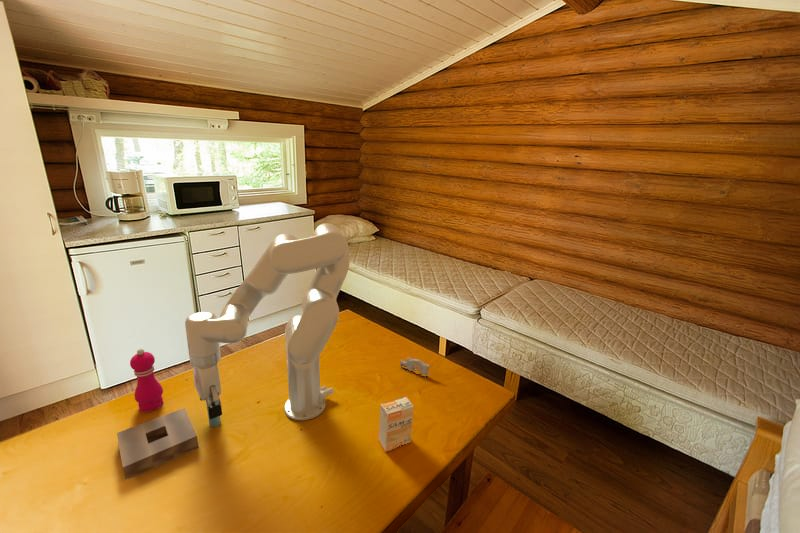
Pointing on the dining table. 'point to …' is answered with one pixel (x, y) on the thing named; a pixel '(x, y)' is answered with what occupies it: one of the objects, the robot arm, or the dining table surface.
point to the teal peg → (213, 421)
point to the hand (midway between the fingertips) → (210, 407)
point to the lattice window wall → (412, 362)
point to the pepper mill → (146, 382)
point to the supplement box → (395, 423)
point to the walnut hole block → (156, 442)
